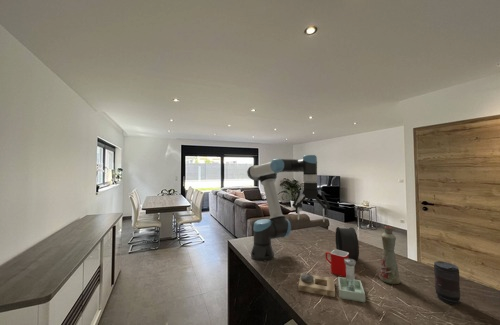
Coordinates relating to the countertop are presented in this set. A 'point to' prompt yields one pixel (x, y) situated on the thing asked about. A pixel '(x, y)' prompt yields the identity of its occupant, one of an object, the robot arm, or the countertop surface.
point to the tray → (350, 295)
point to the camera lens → (447, 282)
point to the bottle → (389, 258)
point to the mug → (338, 262)
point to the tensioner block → (311, 281)
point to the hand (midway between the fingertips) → (310, 220)
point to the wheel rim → (347, 242)
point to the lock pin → (350, 274)
